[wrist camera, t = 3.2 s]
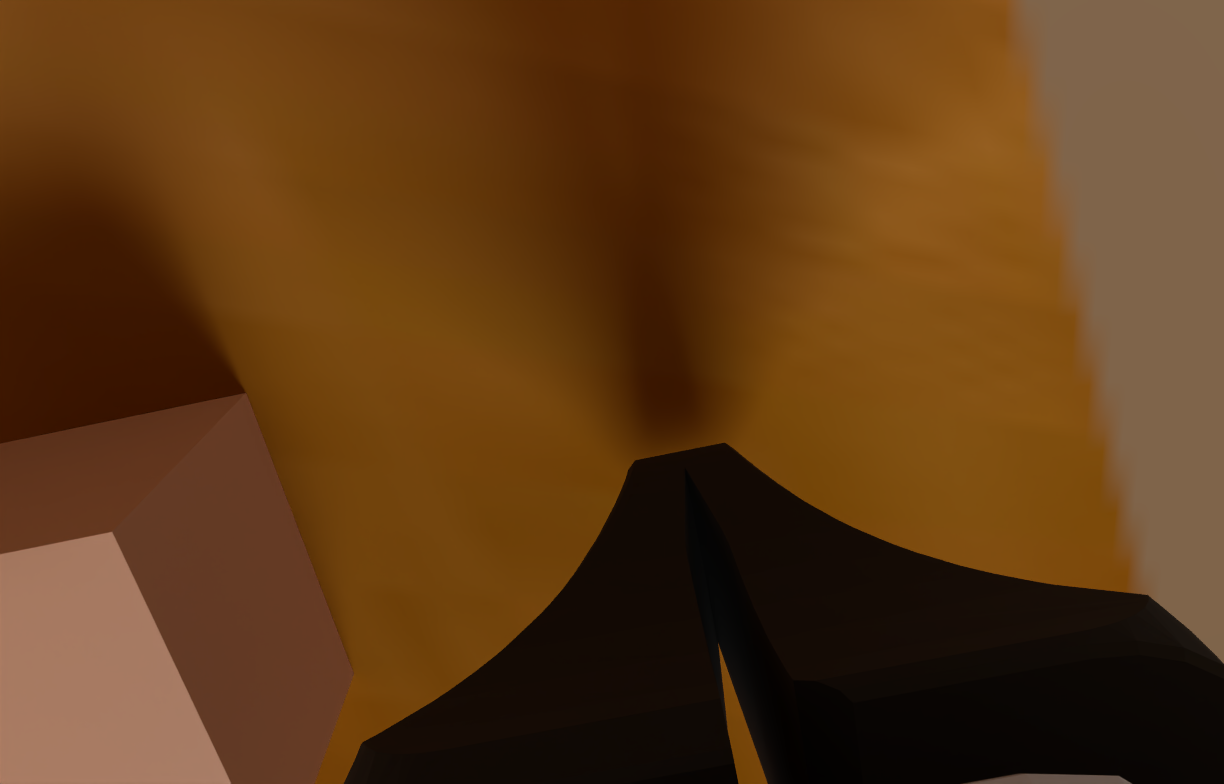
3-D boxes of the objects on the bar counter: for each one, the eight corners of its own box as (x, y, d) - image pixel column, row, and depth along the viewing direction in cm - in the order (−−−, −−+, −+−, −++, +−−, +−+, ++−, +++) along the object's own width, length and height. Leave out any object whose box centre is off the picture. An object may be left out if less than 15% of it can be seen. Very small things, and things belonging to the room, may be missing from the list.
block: (356, 668, 14) (278, 883, 11) (63, 724, 15) (-111, 953, 11) (249, 389, 13) (111, 532, 9) (-82, 458, 13) (-352, 624, 9)
